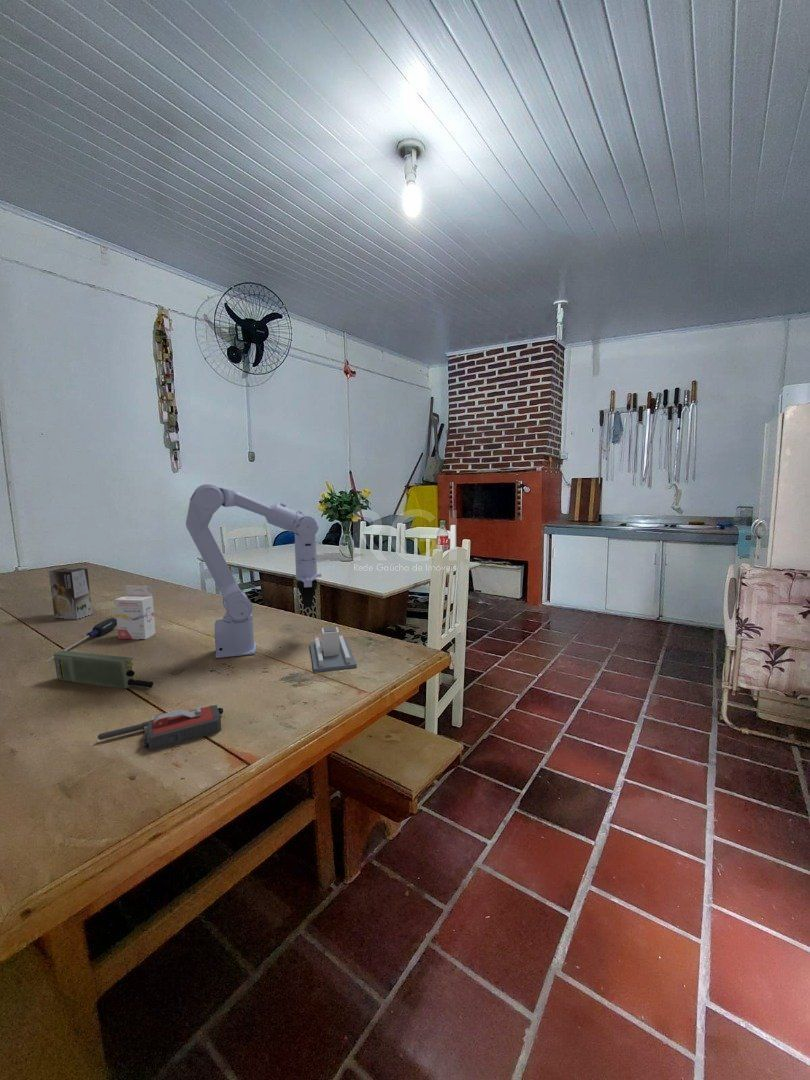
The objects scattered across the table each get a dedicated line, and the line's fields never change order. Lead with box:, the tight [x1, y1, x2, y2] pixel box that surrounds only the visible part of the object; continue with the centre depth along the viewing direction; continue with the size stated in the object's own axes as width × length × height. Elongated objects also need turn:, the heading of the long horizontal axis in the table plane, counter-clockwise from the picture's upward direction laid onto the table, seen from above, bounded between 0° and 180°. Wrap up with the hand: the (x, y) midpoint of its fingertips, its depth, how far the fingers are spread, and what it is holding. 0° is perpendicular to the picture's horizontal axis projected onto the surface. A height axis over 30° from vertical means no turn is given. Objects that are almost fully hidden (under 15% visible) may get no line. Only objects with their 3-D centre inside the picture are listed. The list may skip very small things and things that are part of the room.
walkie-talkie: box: [97, 704, 224, 752], centre depth 79 cm, size 9×4×20 cm
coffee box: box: [48, 567, 93, 620], centre depth 148 cm, size 9×6×16 cm
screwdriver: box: [45, 617, 117, 663], centre depth 124 cm, size 26×4×4 cm, turn 179°
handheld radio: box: [53, 649, 154, 689], centre depth 99 cm, size 7×3×25 cm
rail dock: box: [309, 634, 358, 673], centre depth 114 cm, size 10×18×2 cm, turn 15°
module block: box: [321, 626, 340, 656], centre depth 113 cm, size 4×4×6 cm
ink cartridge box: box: [114, 584, 157, 640], centre depth 128 cm, size 9×5×15 cm, turn 84°
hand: (307, 606), depth 125 cm, fingers closed
